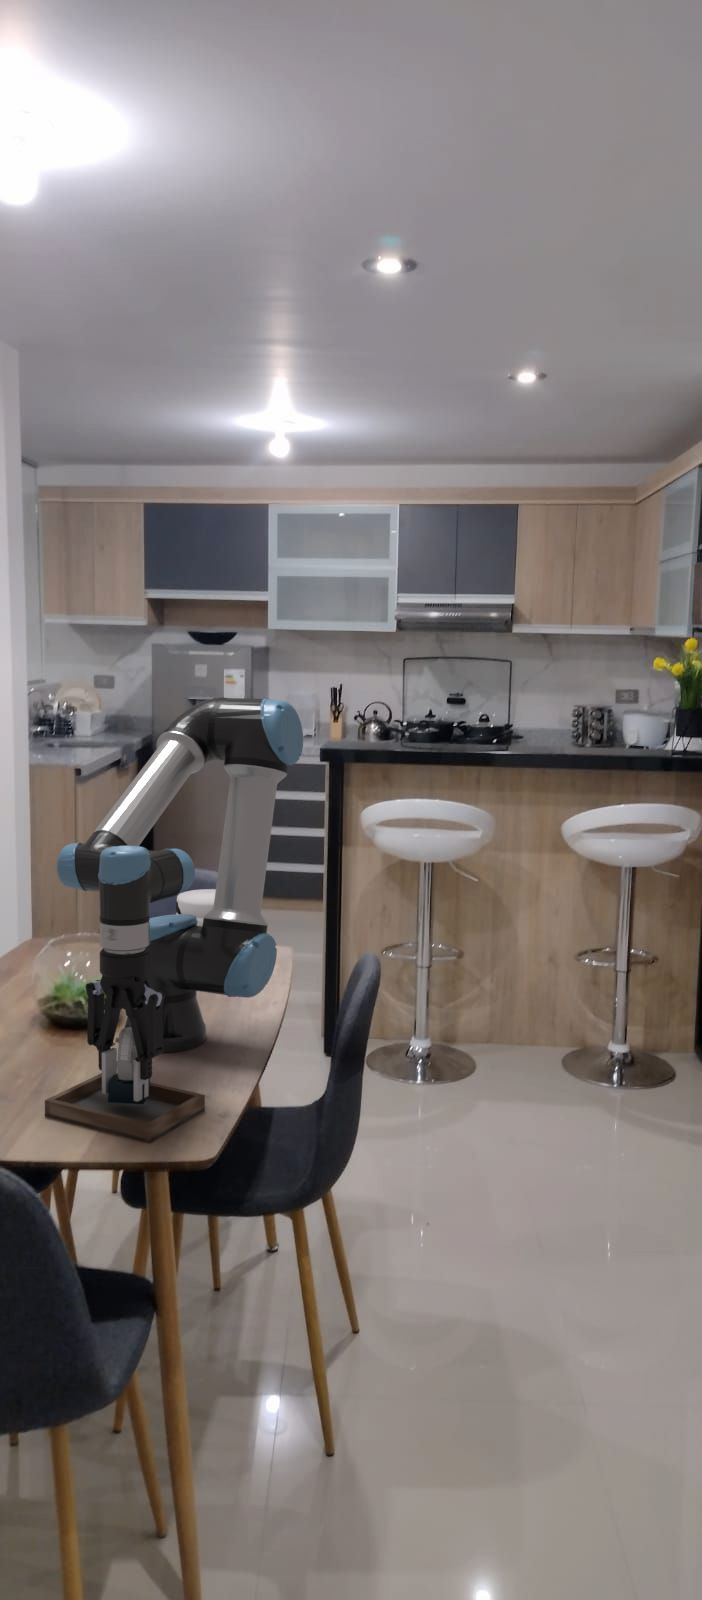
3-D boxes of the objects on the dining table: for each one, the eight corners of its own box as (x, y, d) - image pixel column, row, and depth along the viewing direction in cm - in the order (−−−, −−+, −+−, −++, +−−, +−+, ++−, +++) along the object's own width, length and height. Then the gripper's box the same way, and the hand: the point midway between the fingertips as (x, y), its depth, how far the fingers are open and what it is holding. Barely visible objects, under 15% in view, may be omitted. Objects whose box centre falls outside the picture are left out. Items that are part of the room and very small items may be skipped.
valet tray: (104, 1087, 185) (104, 1071, 185) (204, 1110, 176) (204, 1094, 176) (44, 1116, 173) (44, 1100, 173) (149, 1143, 164) (149, 1126, 164)
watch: (152, 1089, 179) (153, 1022, 178) (140, 1108, 171) (142, 1038, 170) (117, 1087, 179) (118, 1020, 178) (104, 1106, 171) (105, 1036, 170)
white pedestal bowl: (170, 965, 261) (170, 888, 259) (245, 962, 264) (245, 887, 262) (173, 986, 244) (173, 904, 242) (253, 983, 247) (254, 902, 245)
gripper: (61, 945, 172) (62, 1091, 175) (158, 961, 164) (158, 1114, 167) (93, 935, 179) (94, 1076, 182) (188, 950, 171) (188, 1098, 173)
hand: (125, 1094), depth 174 cm, fingers closed on watch, 5 cm apart
